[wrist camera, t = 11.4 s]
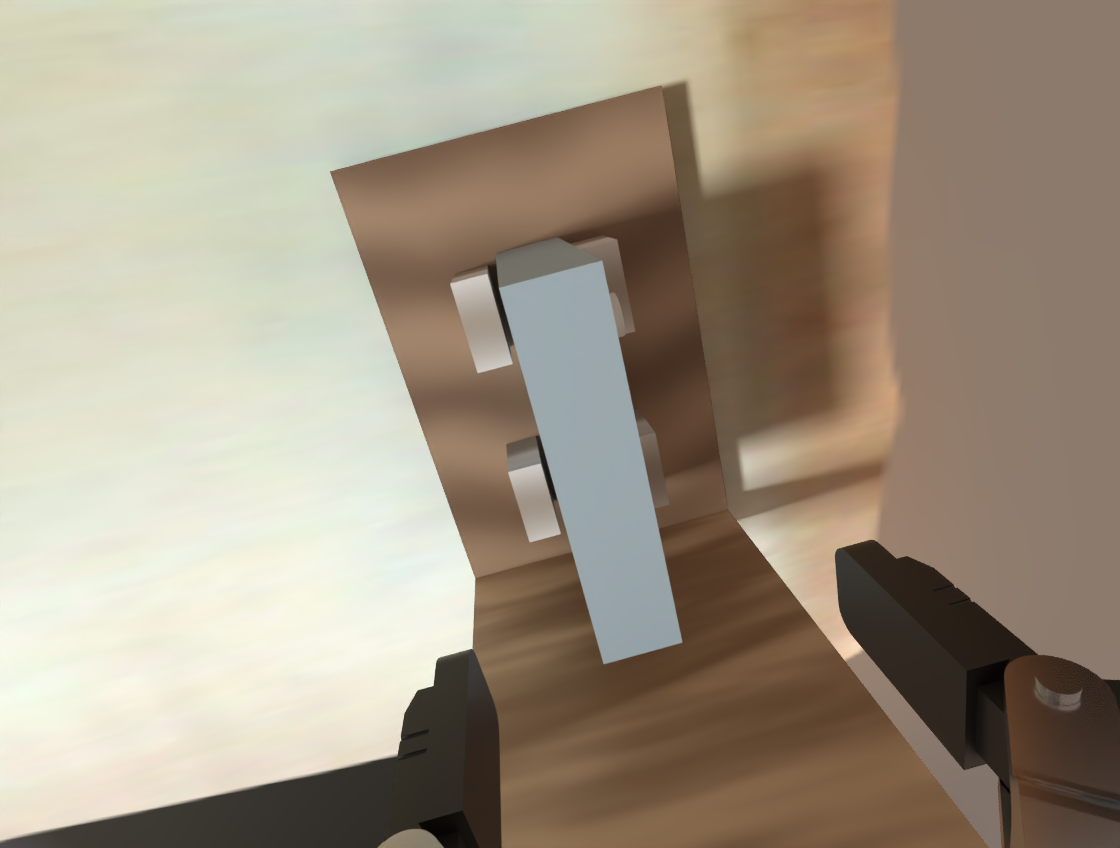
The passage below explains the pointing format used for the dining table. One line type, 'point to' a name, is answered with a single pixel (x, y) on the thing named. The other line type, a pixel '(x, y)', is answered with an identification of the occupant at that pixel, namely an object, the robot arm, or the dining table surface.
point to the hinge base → (680, 506)
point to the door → (590, 440)
